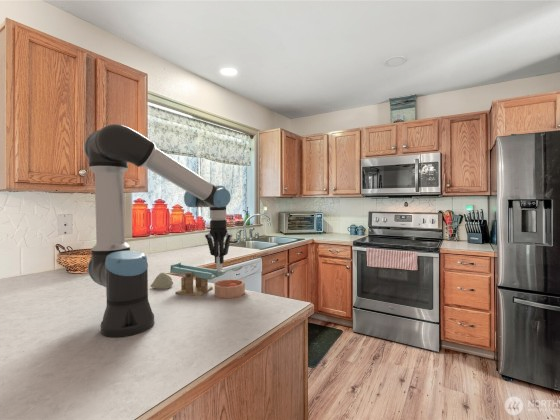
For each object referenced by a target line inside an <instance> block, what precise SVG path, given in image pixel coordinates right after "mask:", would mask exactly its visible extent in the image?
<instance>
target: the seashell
mask: <svg viewBox="0 0 560 420" xmlns="http://www.w3.org/2000/svg"><path fill="white" fill-rule="evenodd" d="M173 285H174V281H173V279H172V277H171V276H170V275H168V274H167V273H165V272H160V273H159V274H158V275H157V276H156V277H155V278H154V280H153V281H152V283H151V284H150V285H149V286H150V288H153V289H158V290H160V289H161V290H162V289H163V290H164V289H169V288H171V287H172V286H173Z"/></svg>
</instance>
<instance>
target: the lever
mask: <svg viewBox="0 0 560 420" xmlns="http://www.w3.org/2000/svg"><path fill="white" fill-rule="evenodd" d="M169 271H170V273H171V274H175V275H176V274H177V275H182V276H185V273H186V272H191V273H193V278H196V277H198V278H203V279H208V280H210V281H212V280H213V279H215V278H219V277H220V276H222V275H224V274H226V273H227V270H226V269H225V270H224V269H222V270H221V271H218V270H217V269H213V268H206V267H200V266H194V265H187V264H183V263H182V261H179V262H176V263H172V264H171V265H170V269H169Z"/></svg>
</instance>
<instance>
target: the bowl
mask: <svg viewBox="0 0 560 420" xmlns="http://www.w3.org/2000/svg"><path fill="white" fill-rule="evenodd" d="M231 283H235V284H236V285H237V286H233V287H228V286H229V285H230V284H231ZM213 285H214V286H213V287H214V296H215V297H217V298H220V299H235V298H239V297H242V296H243V295H244V294H245V291H246V290H245V289H246V285H245V281H244V280H241V279H235V278H234V279H230V278H229V279H222V280H219V281H217V282H215V283H214V284H213Z"/></svg>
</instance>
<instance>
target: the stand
mask: <svg viewBox="0 0 560 420" xmlns="http://www.w3.org/2000/svg"><path fill="white" fill-rule="evenodd" d="M208 280H209V279H203V278H198V277H195V285H194V277H193V273H191V272H186V273H185V275H183V277H181V278H180V283H181V284H180V287H181V289H178V290H177V291H175V295H185V296H188V295H189V296H197V297H199V296H200V297H201V296H202V295H204V294H206V293H208V292H209V291H211V290H213V289H212V288H213V287H214V286H209V285H208V284H209V282H208Z"/></svg>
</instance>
